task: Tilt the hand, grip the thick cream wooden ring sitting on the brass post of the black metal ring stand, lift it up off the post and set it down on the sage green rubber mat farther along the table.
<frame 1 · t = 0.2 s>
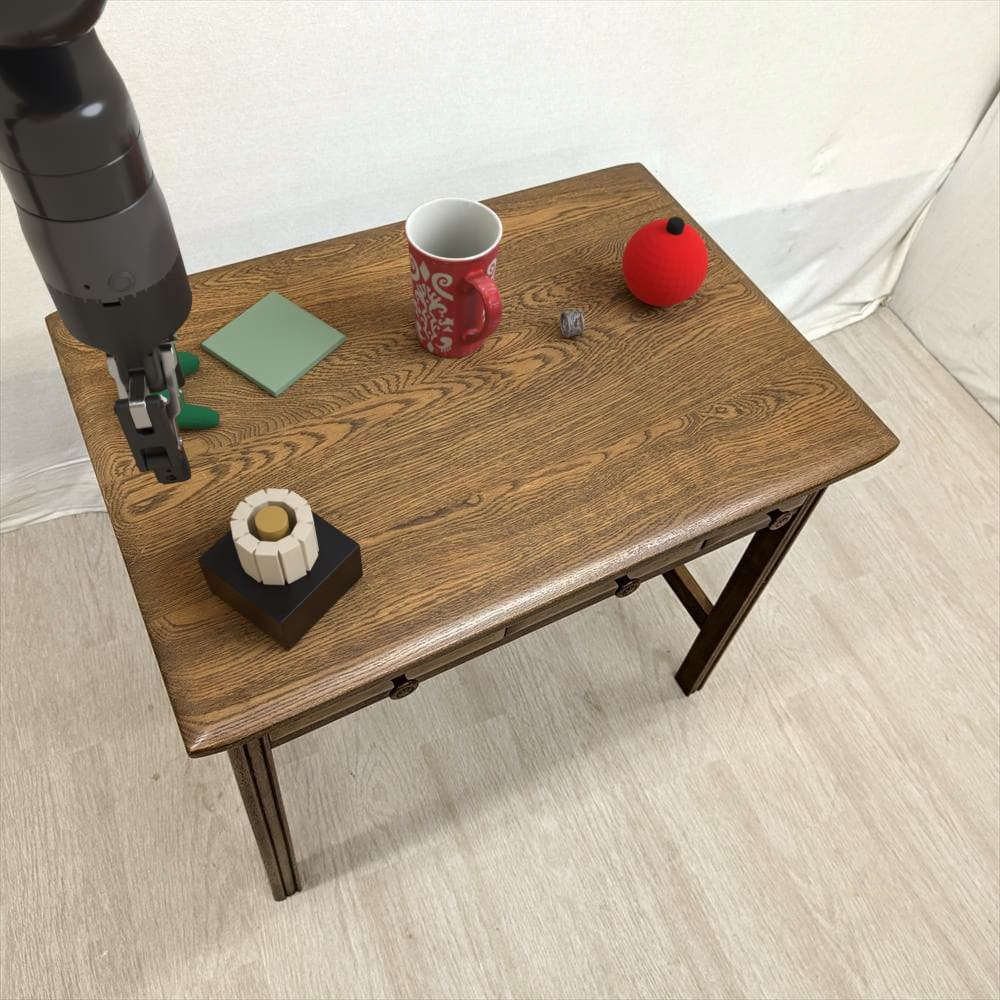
hand: (173, 430, 64), 16 cm above the table, tool pointing down, fingers open, 8 cm apart
decorative ring: (570, 334, 95), on the table
gaming controller: (180, 403, 86), on the table
ornament: (655, 296, 99), on the table
ring: (279, 551, 71), point 5 cm above the table, touching ring stand
mat: (275, 344, 91), on the table
mug: (457, 345, 93), on the table
ring stand: (287, 582, 75), on the table
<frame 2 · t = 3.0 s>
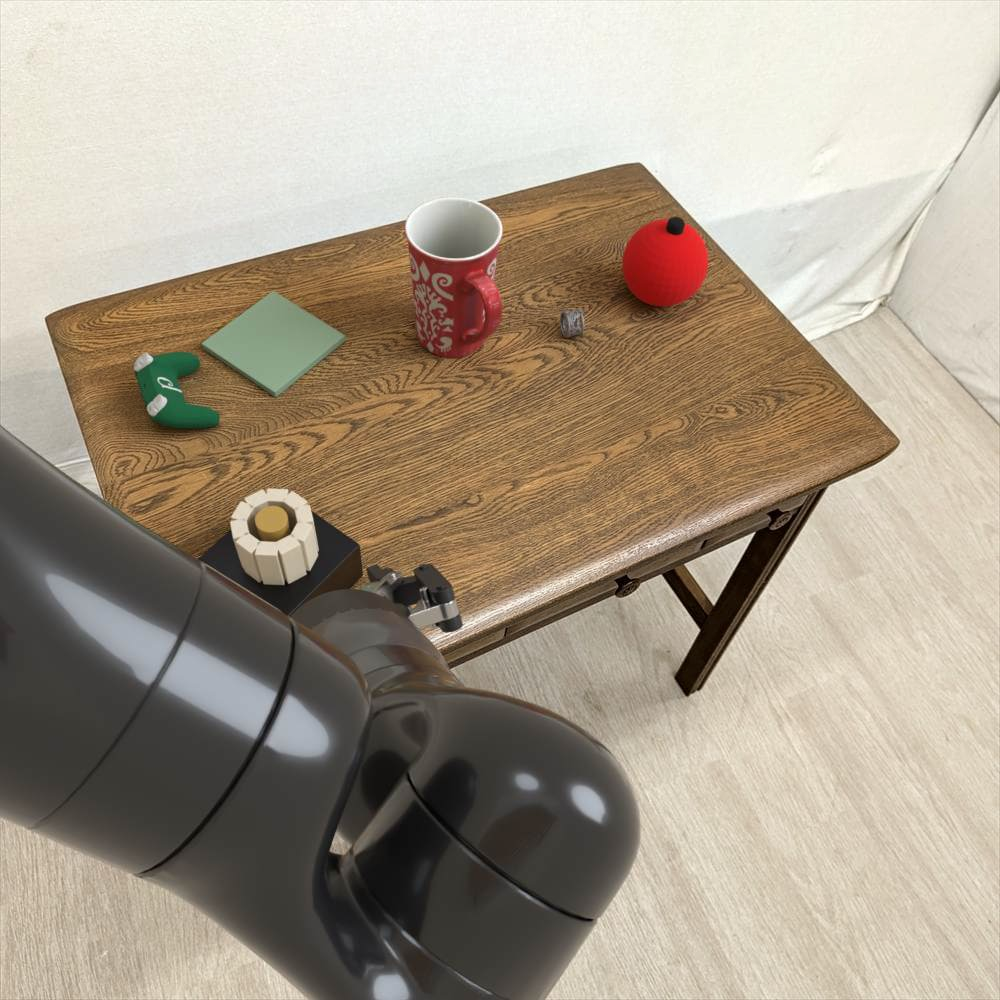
hand: (310, 603, 57), 16 cm above the table, tool tilted 45°, fingers open, 8 cm apart
nothing on the table moved.
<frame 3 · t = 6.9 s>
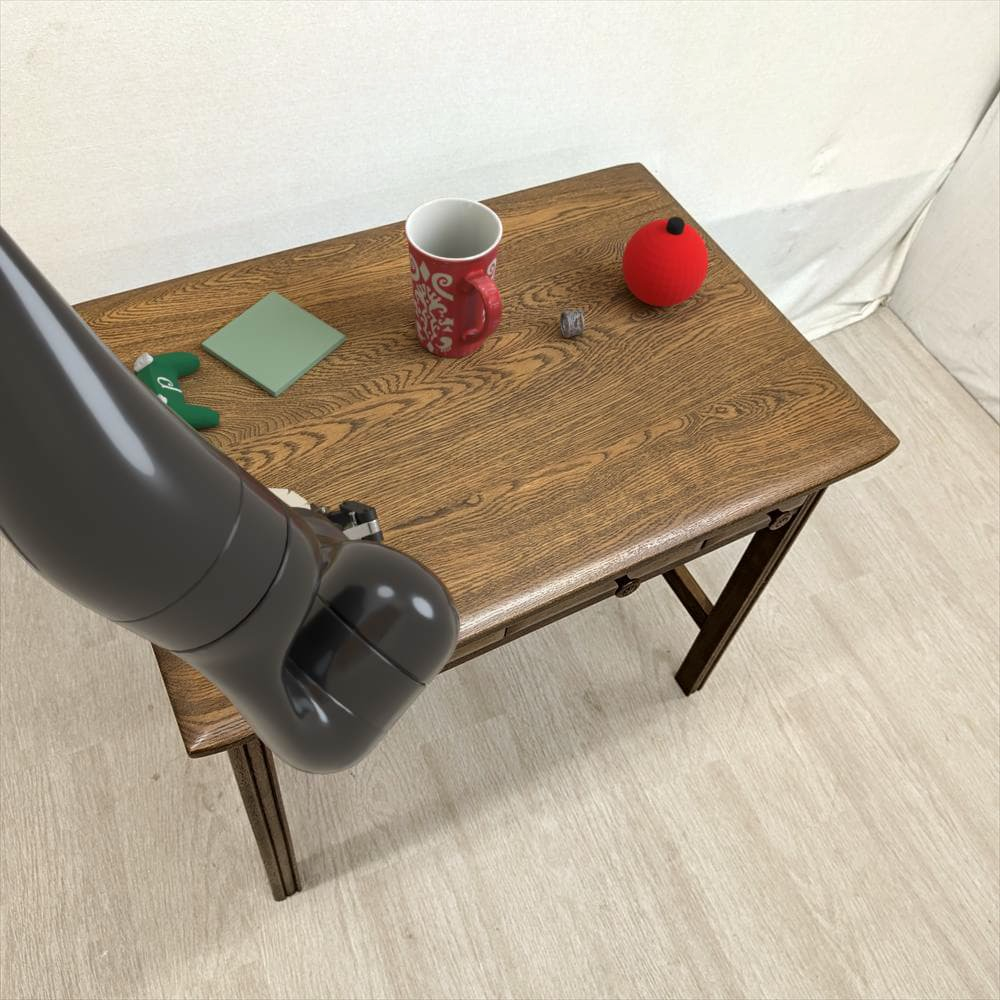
hand: (271, 529, 72), 6 cm above the table, tool tilted 45°, fingers closed on ring, 6 cm apart
ring: (279, 551, 71), point 5 cm above the table, touching gripper, ring stand
everything else where it was.
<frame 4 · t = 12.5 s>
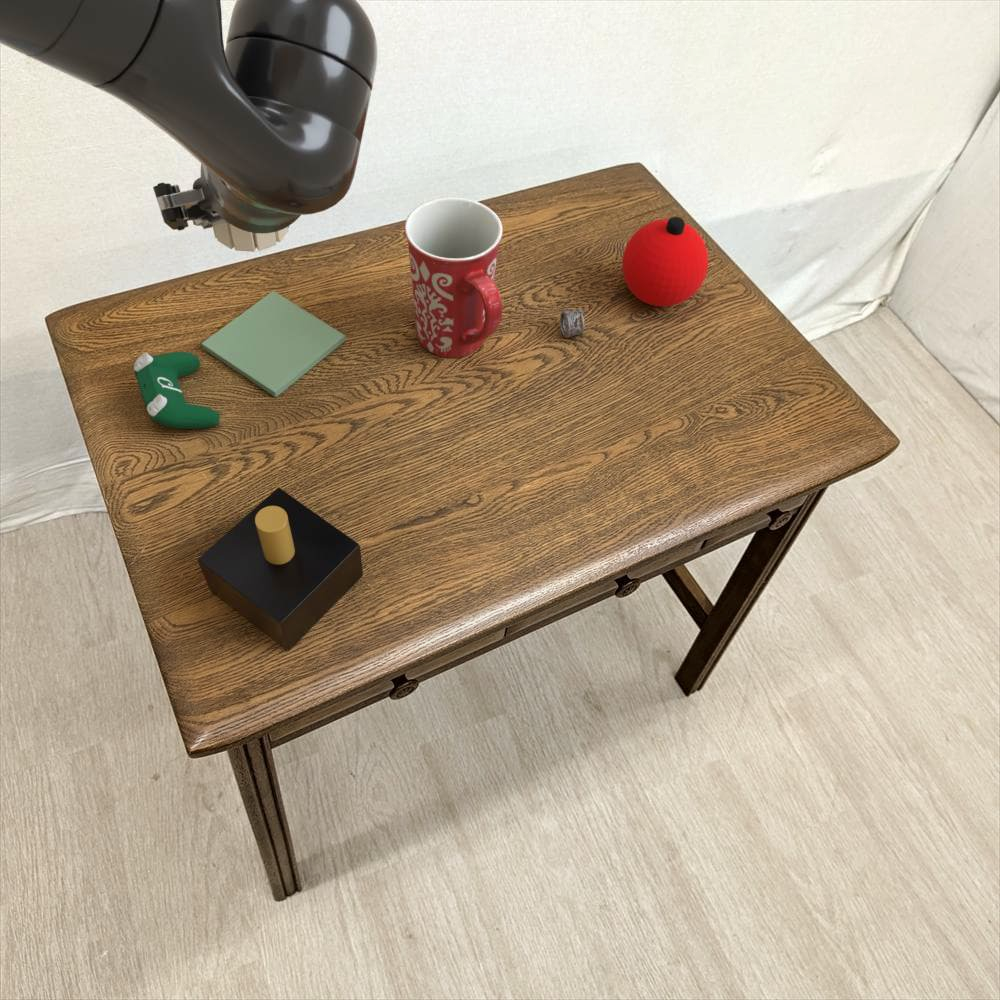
hand: (243, 206, 74), 18 cm above the table, tool tilted 45°, fingers closed on ring, 6 cm apart
ring: (251, 227, 74), point 18 cm above the table, touching gripper
everything else where it was.
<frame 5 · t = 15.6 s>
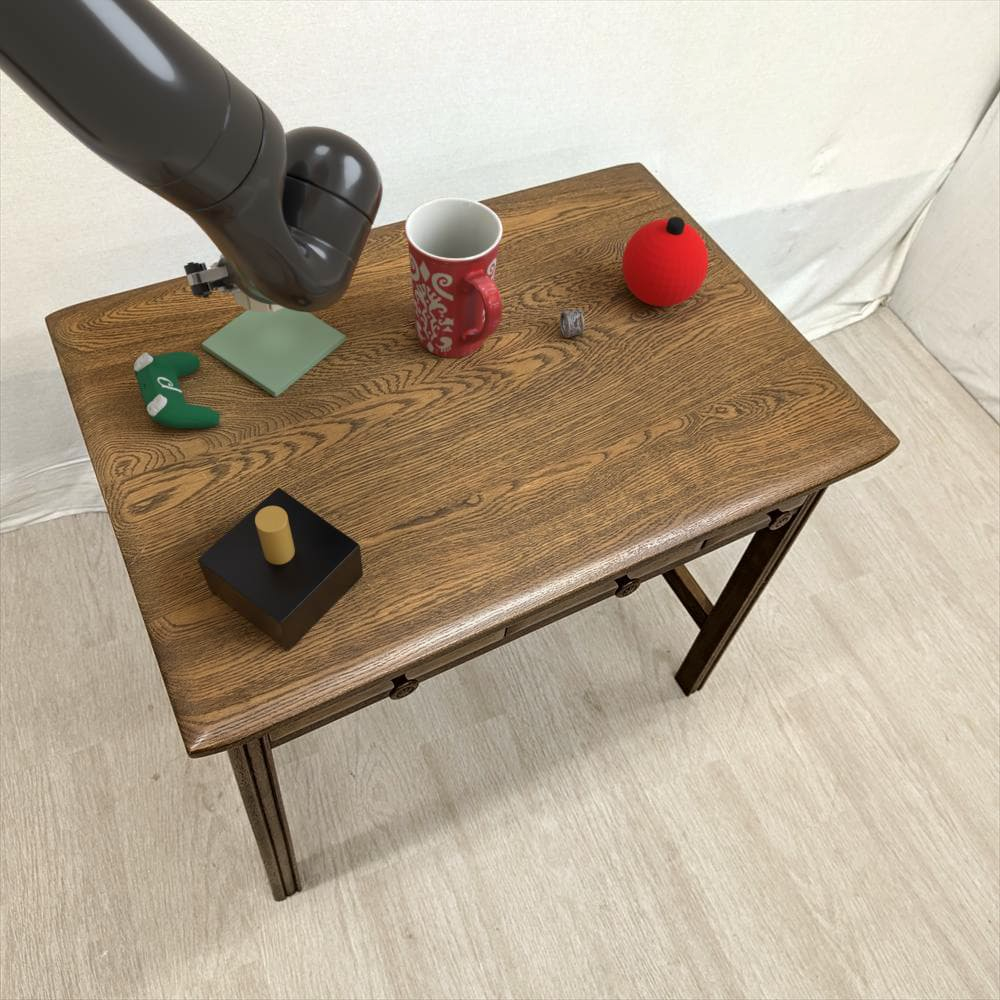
hand: (258, 272, 85), 8 cm above the table, tool tilted 45°, fingers closed on ring, 6 cm apart
ring: (265, 290, 85), point 7 cm above the table, touching gripper
everything else where it was.
when the fingers open (2 cm above the table, at t = 18.0 s): ring stays where it is, resting on mat.
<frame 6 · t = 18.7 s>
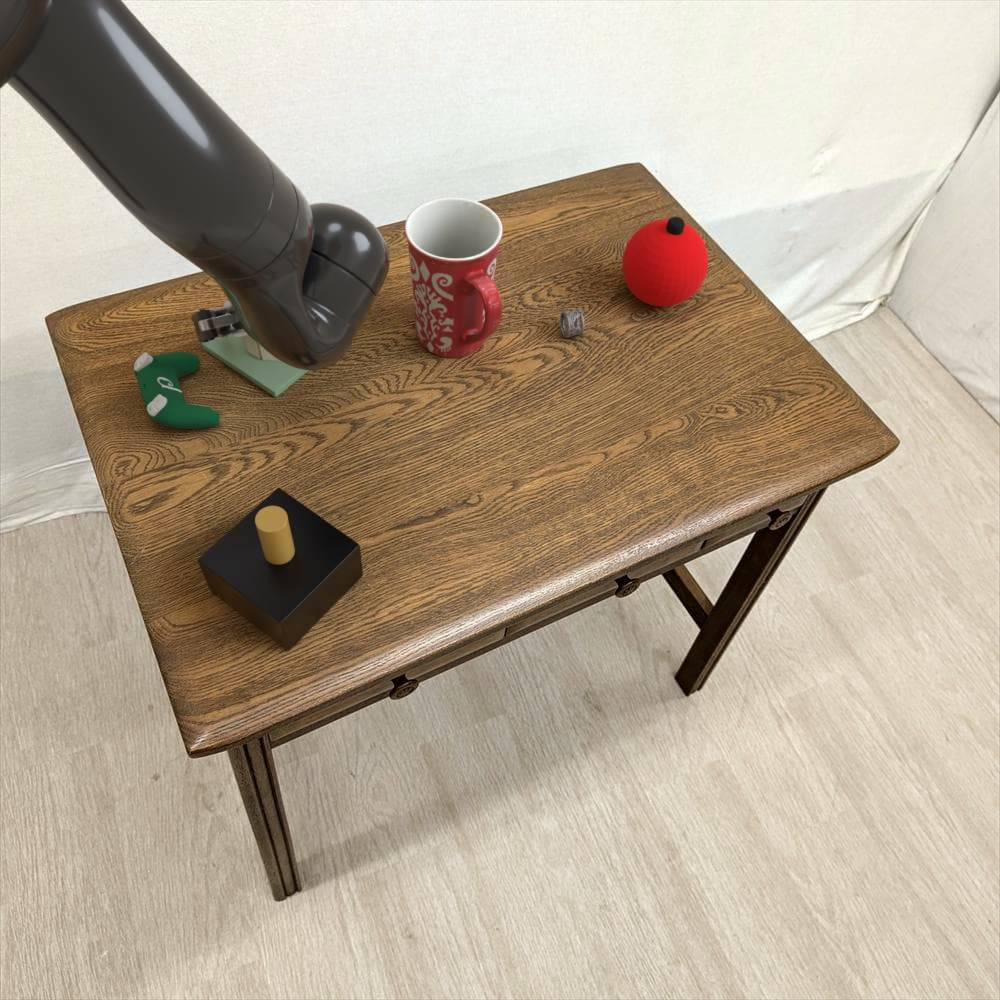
hand: (266, 313, 89), 3 cm above the table, tool tilted 45°, fingers open, 8 cm apart
ring: (274, 338, 90), point 1 cm above the table, touching mat
everything else where it was.
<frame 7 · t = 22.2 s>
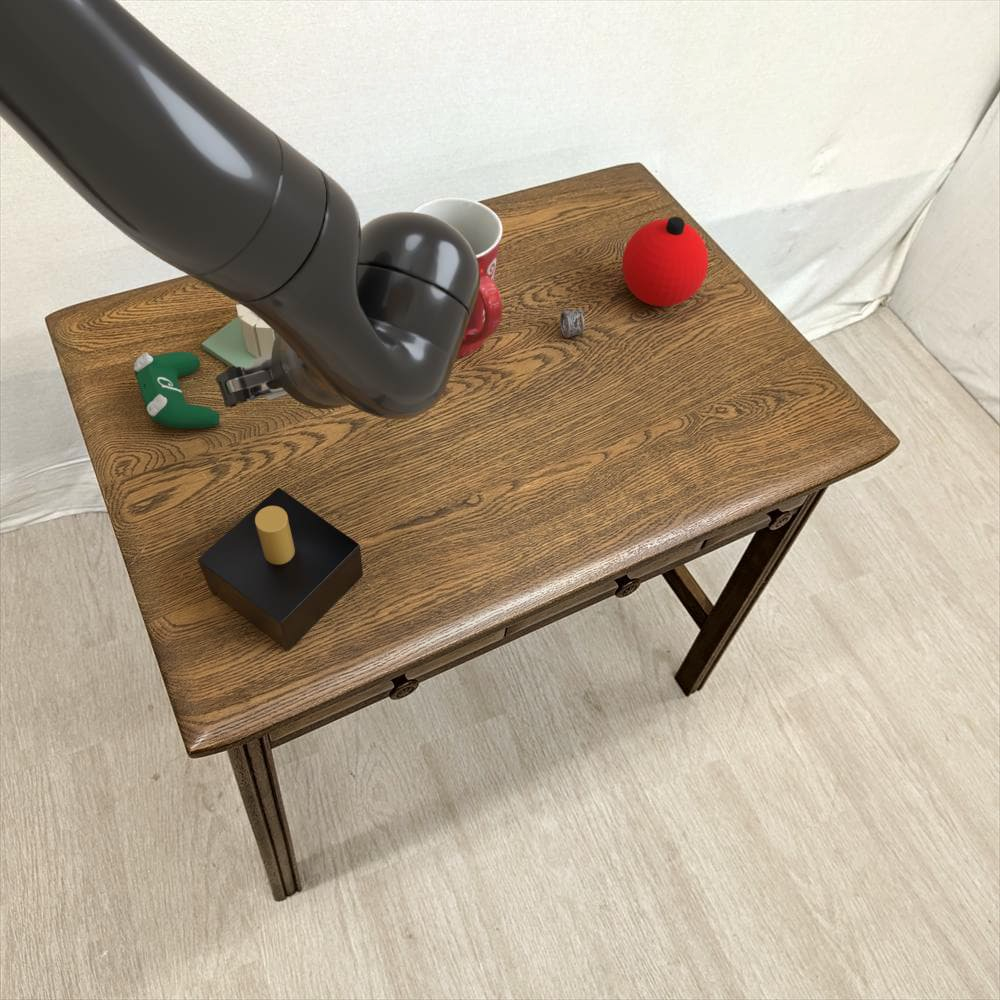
hand: (296, 373, 78), 8 cm above the table, tool tilted 40°, fingers open, 8 cm apart
nothing on the table moved.
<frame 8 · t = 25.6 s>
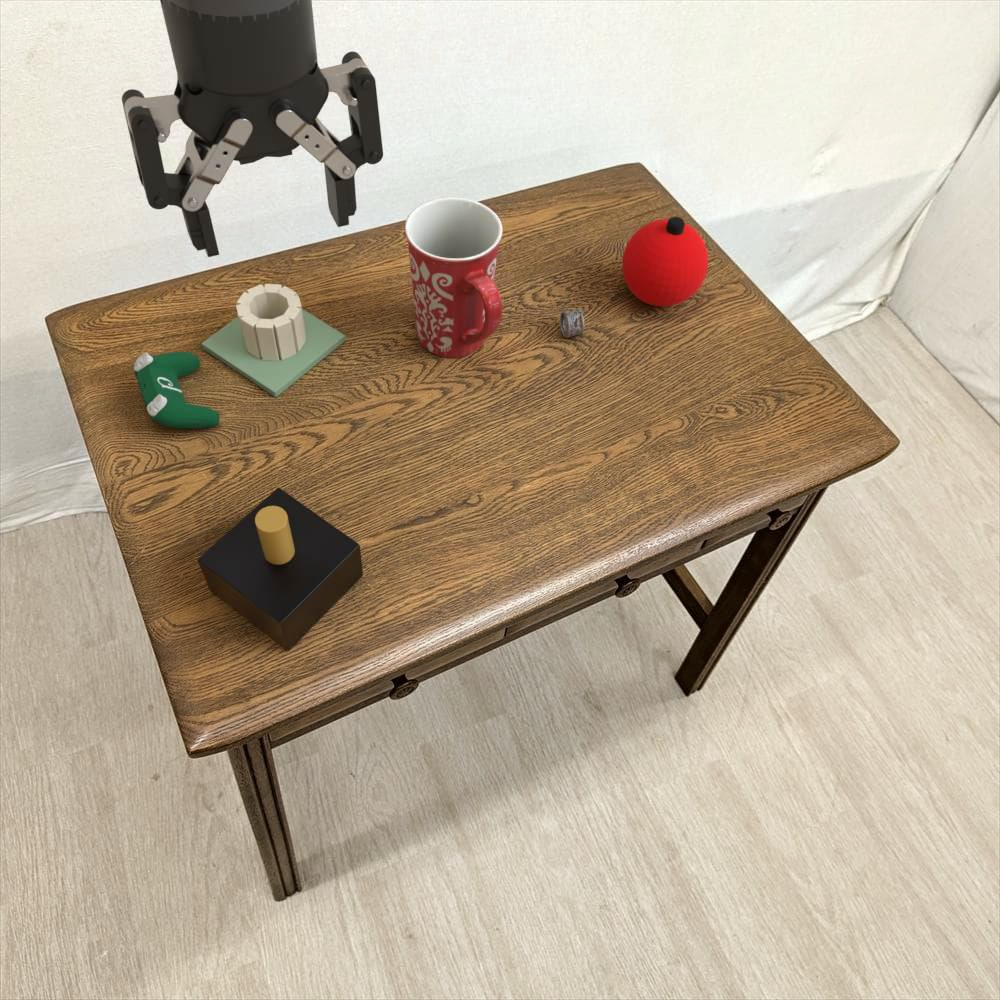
hand: (275, 233, 58), 28 cm above the table, tool pointing down, fingers open, 8 cm apart
nothing on the table moved.
at the end: ring inside the target area on the mat (0.1 cm from its centre), point 0.8 cm above the mat's base; ring tilted 0° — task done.
